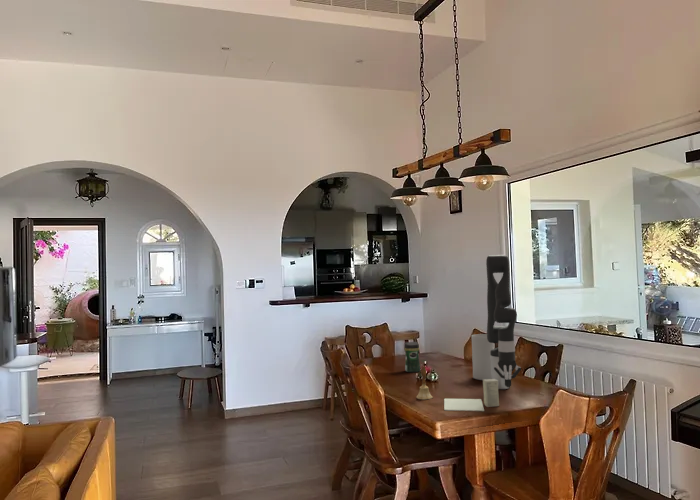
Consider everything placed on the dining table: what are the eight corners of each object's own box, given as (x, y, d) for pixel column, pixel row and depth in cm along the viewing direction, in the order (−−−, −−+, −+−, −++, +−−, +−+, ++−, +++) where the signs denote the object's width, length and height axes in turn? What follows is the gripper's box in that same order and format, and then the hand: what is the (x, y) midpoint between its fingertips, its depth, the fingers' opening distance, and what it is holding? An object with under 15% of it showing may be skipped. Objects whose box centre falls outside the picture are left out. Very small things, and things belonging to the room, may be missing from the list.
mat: (444, 399, 260) (444, 398, 260) (481, 399, 257) (481, 399, 257) (444, 410, 241) (444, 409, 241) (484, 411, 237) (484, 410, 237)
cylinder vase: (469, 377, 309) (467, 335, 310) (487, 375, 313) (485, 333, 314) (480, 381, 297) (478, 337, 298) (499, 379, 301) (497, 336, 302)
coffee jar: (418, 369, 336) (417, 340, 337) (421, 372, 328) (420, 342, 329) (403, 370, 335) (402, 341, 336) (406, 372, 327) (405, 343, 328)
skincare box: (496, 404, 249) (495, 378, 249) (499, 406, 244) (498, 380, 245) (483, 404, 249) (482, 379, 249) (486, 407, 244) (485, 381, 245)
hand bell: (416, 395, 270) (415, 364, 270) (432, 395, 269) (431, 364, 269) (416, 399, 261) (415, 367, 262) (433, 399, 260) (431, 367, 261)
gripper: (520, 348, 248) (521, 385, 248) (491, 349, 251) (492, 385, 250) (522, 351, 241) (523, 389, 240) (492, 351, 243) (494, 388, 243)
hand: (508, 387), depth 245 cm, fingers closed
